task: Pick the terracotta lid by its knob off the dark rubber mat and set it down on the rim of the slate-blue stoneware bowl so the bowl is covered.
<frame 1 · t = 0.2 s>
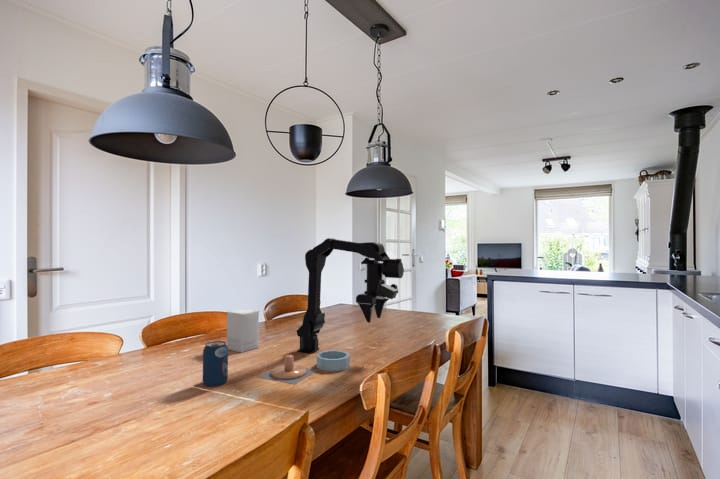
hand: (373, 320, 134), 15 cm above the table, tool pointing down, fingers open, 9 cm apart
lid: (288, 373, 118), resting on mat
bowl: (333, 366, 127), on the table
mat: (288, 374, 118), on the table
supplement box: (242, 349, 148), on the table
soda can: (215, 384, 110), on the table
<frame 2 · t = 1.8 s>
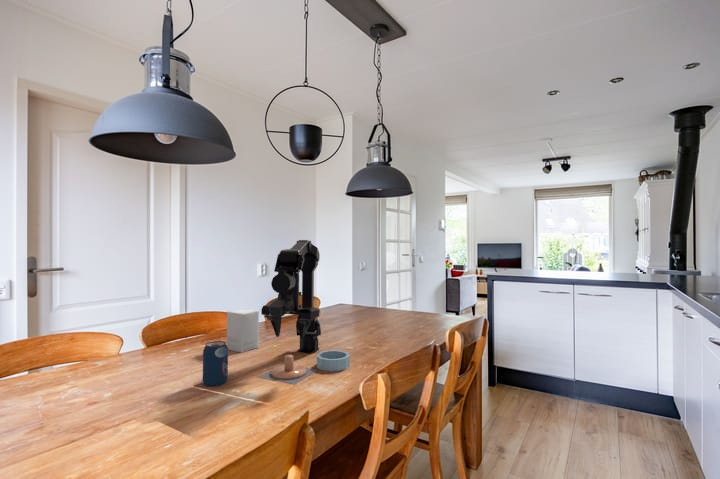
hand: (289, 338, 119), 12 cm above the table, tool pointing down, fingers open, 9 cm apart
nothing on the table moved.
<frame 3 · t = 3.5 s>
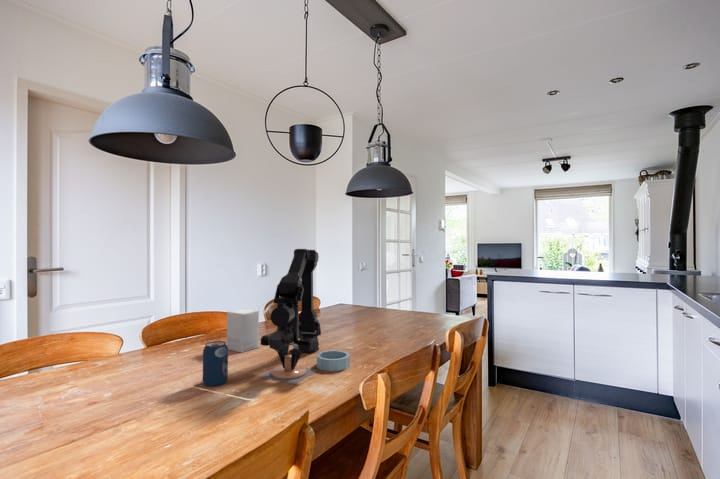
hand: (288, 368, 119), 2 cm above the table, tool pointing down, fingers closed on lid, 3 cm apart
lid: (288, 373, 118), resting on mat, touching gripper
everything else where it was.
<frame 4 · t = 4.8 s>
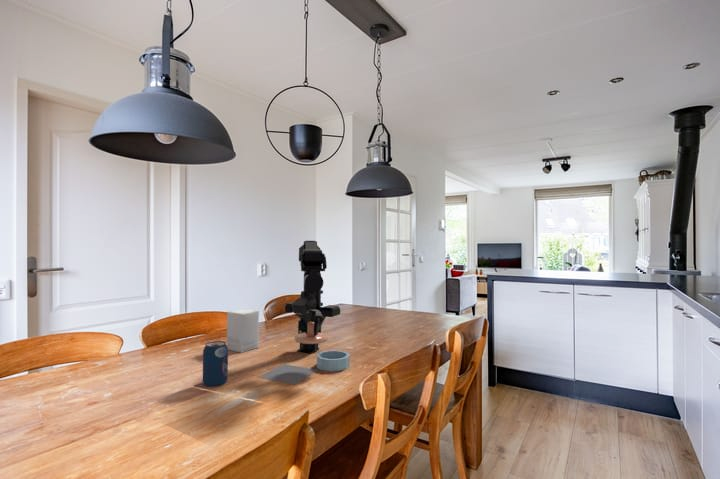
hand: (311, 335, 123), 12 cm above the table, tool pointing down, fingers closed on lid, 3 cm apart
lid: (311, 339, 123), point 10 cm above the table, touching gripper
everything else where it was.
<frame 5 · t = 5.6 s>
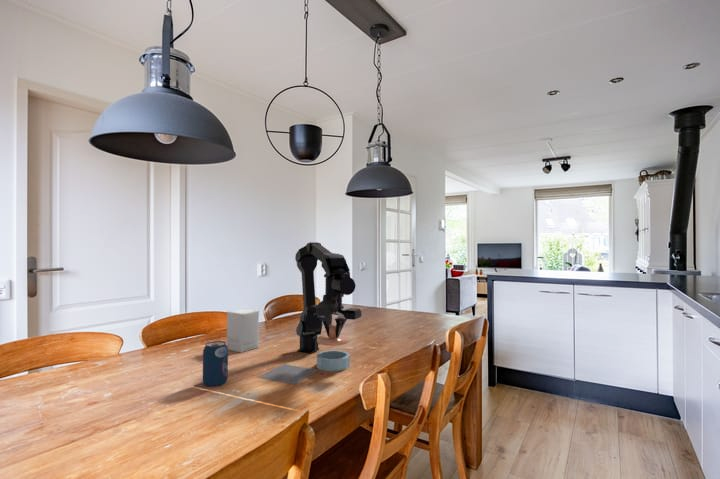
hand: (333, 337, 127), 10 cm above the table, tool pointing down, fingers closed on lid, 3 cm apart
lid: (333, 341, 127), point 9 cm above the table, touching gripper
everything else where it was.
when the fingers open (7 cm above the table, at t = 6.3 s): lid drops 2 cm, resting on bowl.
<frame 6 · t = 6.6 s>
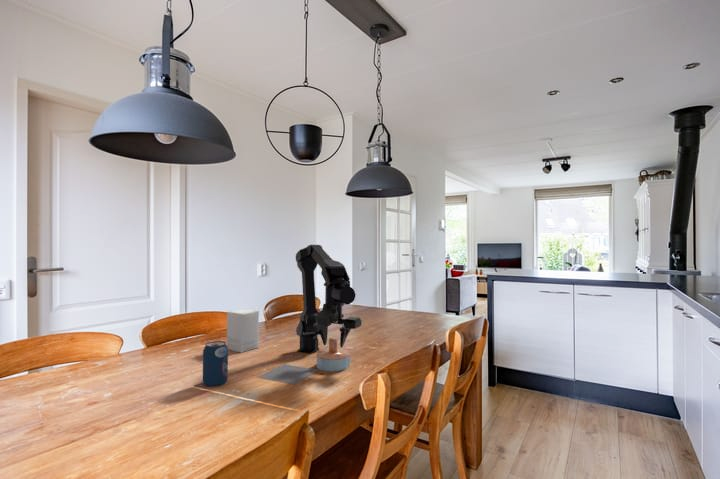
hand: (333, 346, 127), 7 cm above the table, tool pointing down, fingers open, 6 cm apart
lid: (333, 354, 127), point 4 cm above the table, touching bowl
everything else where it was.
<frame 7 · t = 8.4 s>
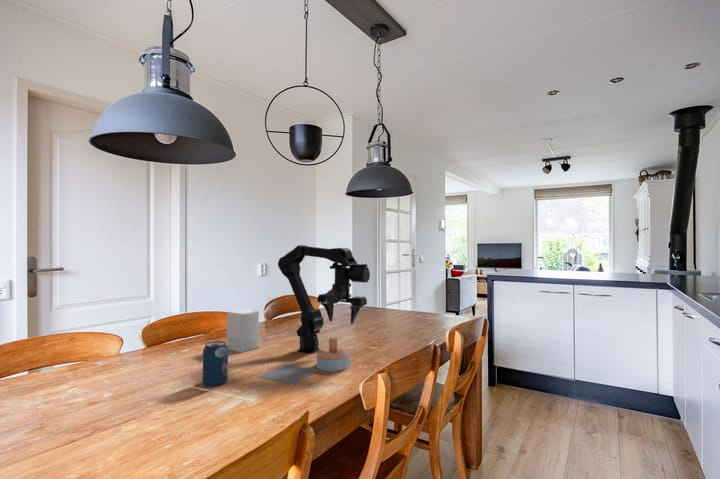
hand: (341, 322, 140), 12 cm above the table, tool pointing down, fingers open, 9 cm apart
nothing on the table moved.
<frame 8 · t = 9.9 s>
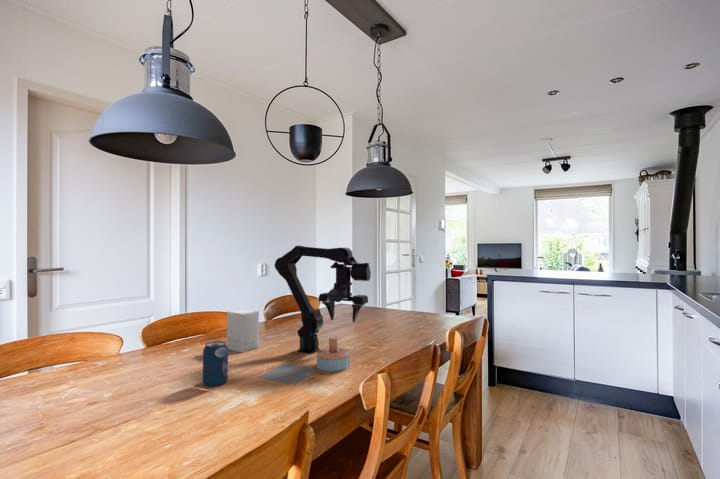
hand: (342, 320, 142), 13 cm above the table, tool pointing down, fingers open, 9 cm apart
nothing on the table moved.
at the end: lid 0.1 cm off-centre on the bowl, point 4.0 cm above the bowl's base; lid tilted 0°; the gripper is holding nothing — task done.
